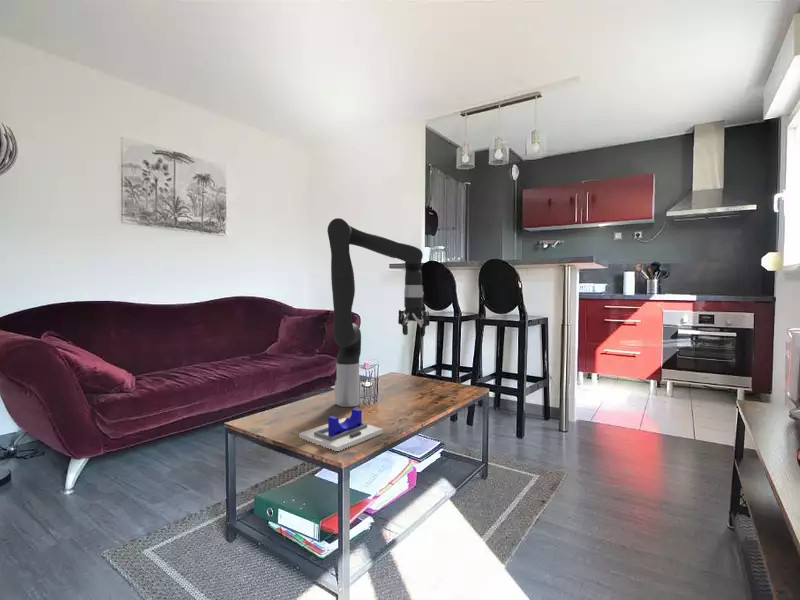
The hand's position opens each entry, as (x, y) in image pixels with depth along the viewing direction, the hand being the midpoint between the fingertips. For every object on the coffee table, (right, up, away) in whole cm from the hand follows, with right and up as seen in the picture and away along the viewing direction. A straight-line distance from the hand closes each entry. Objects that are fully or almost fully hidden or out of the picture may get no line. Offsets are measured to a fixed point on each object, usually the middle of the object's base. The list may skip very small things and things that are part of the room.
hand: (413, 335), depth 173 cm
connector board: (-25, -30, -35) cm, 52 cm away
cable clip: (-24, -28, -35) cm, 51 cm away
